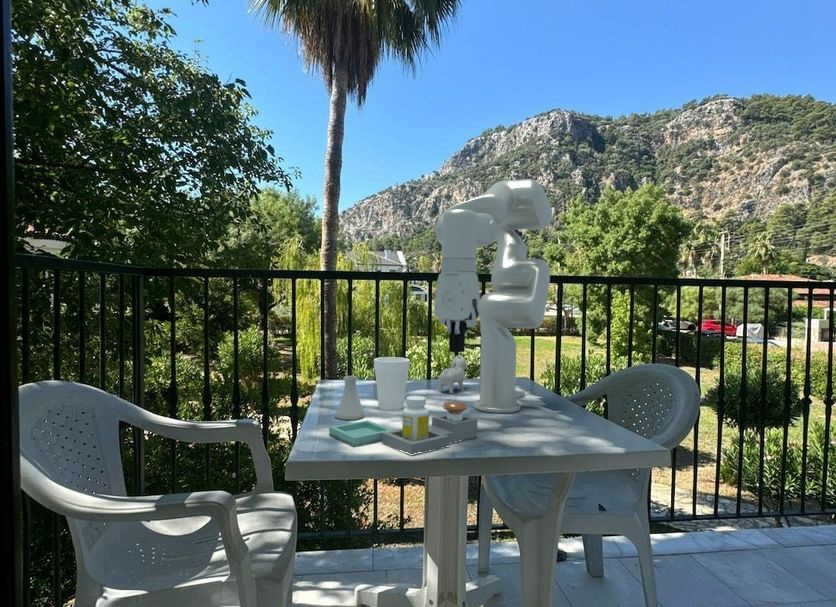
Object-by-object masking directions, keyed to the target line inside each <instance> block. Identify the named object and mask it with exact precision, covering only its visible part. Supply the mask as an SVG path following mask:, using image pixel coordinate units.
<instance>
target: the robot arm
mask: <svg viewBox="0 0 836 607" xmlns="http://www.w3.org/2000/svg"><path fill="white" fill-rule="evenodd" d="M552 218H553V210H552V204H551V202H550V200H549V198H548V196H547V194H546V192H545V189H544V188H543V187H542V185H541V184H540V183H539V182H538V181H537V180H535V179H533V178H531V179H530V178H526V179H525V178H523V179H510V180H509V179H508V180H507V179H506V180H500V181H497V182H495V183H493V184H492V185H490V186H489V188H488V189H487V190H486V191H485V192H484V193H483V194H482V195H479V196H476V197H473V198H471V199H468V200H466V201H463V202H460V203H456V204H455V205H452V206H451V207H449V208H447V209H445V211H444V212H442V213H441V215H440V216H439V217H438V219H437V220H436V223H435V227H434V233H435V238H436V240H437V242H438V243H439V244H440V245H441V258H440V259H441V263H440V268H441V270H440V271H441V272H440V273H439V274H438V277H437V282H436V288H435V295H434V296H435V298H434V316H435V318H437V319H438V320H439V323H440V324H443V325H444V326H445V327H446V332H447V334H449V335H448V337H449V338H448V339H449V341H448V351H449V352H450V353H453V354H454V353H464V352H465V347H466V346H465V345H466V334H468V331H469V329H470V328H473V327H476V326H478V319H479V323H480V336H481V337H480V371H479V372H480V375H479V376H480V377H479V399H477V400H474V401H473V408H475V409H476V410H479V411H483V412H488V413H495V414H496V413H497V414H507V413H508V414H509V413H517V412H518V411H520V410H521V408H522V406H521V404H520V403H519V402H518V400H519V399H524V398H526V392H525V391H524V390H521V391H520V390H519V391H518V390H516V379H517V378H516V376H517V372H516V371H517V342H516V339H515V337H514V336H513V334H512V333H511V331H510V330H509V329H528V330H529V329H538V328H539V327H541V325H542V323H543V321H544V317H545V314H546V307H547V302H548V295H549V290H550V282H551V273H550V268H549V265H548V263H547V262H546V261H544V260H543V259H538V258H527V255H528V246H527V245H526V242H525V241H524V240H523V239H522V237H520V235H519V234H518V233H516V232H515V230H516V231H517V230H541V229H545V228H547V227H549V226H550V224H551V222H552ZM495 241H496V244H497V245H496V246H497V247H496V248H497V250H496V254H495V258H494V263H493V267H492V272H491V279H490V281H491V282H490V283H491V286H492V288H493V289H494V290H495V291H491V292H487V293H485V294H483V295H482V296H481V295H480V284H479V277H478V274H477V247H478V248H479V247H487V246H488V247H489V246H490V245H492V244H493V243H494V242H495ZM480 296H481V298H480Z"/></svg>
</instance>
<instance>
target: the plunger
mask: <svg viewBox="0 0 836 607" xmlns="http://www.w3.org/2000/svg"><path fill="white" fill-rule="evenodd" d="M443 410H446V414H447V418H446V419H447V420H450V421H453V422H456V421H461V420H463V415H464V411H466V410H467V403H466V402H463V401H458V400H457V401H456V400H454V401H453V400H452V401H451V400H449V401H446V402H443Z"/></svg>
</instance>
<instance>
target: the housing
mask: <svg viewBox="0 0 836 607" xmlns="http://www.w3.org/2000/svg"><path fill="white" fill-rule="evenodd" d="M446 418H447V413H446V414H441V415H436V416H435V415H434V416H432V417H431V425H430V424H429V435H428V439H423V440H419V441H414V442H412V441H409V440H406V439H404V438H402V428H399V429H392V430H393V431H388V432H383V433H382V441H381V444H383V443H384V444H383V445H385V444H386V445H385V446H387V445H389V446H388V447H390V446H391V447H390V448H392V447H394V448H396V449H395V450H397V449H399V450H402V451H404V452H408V453H410V454H414V453H418V452H425V451H429V450H433V449H438V448H442V447H446V446H449V447H450V444H449V443H450V442H455V441H459V440H464V441H466V440H465V439H468V440H471V439H470V438H472V439H475V438H474V437H477V438H478V419H477V418H475V417H470V416H467V415H465V414H463V420H461V421H456V422H453V421H450V420H447V419H446ZM455 443H456V442H455ZM394 448H393V449H394ZM446 448H447V447H446ZM442 449H443V448H442ZM399 450H398V451H399ZM438 450H439V449H438ZM433 451H434V450H433ZM404 452H403V453H404ZM429 452H430V451H429ZM425 453H426V452H425Z"/></svg>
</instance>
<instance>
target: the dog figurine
mask: <svg viewBox="0 0 836 607" xmlns="http://www.w3.org/2000/svg"><path fill="white" fill-rule="evenodd" d="M466 360H467V359H466V357H465V356H464V357H460V356H459V355H456V356H455V357H454V359H453V360H452V362H451V366H449V368H445V370H443V371H441V372H440V374H439V377H438V380H439V381H438V382H439V383H438V385H439V388H438V389H439V390H438V392H439V393H440V392H442V393H443V387H444V386H446V387H447V388H448V389H449V393H454V389H453V388H454V386H455V385H454V384H455V383H457V384H458V388H459V391H460V390H462V391H461V392H464V391H465V389H464V379H465V378H466V375H465V374H466V373H465V370H466V369H467V367H468V363H467V361H466Z"/></svg>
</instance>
